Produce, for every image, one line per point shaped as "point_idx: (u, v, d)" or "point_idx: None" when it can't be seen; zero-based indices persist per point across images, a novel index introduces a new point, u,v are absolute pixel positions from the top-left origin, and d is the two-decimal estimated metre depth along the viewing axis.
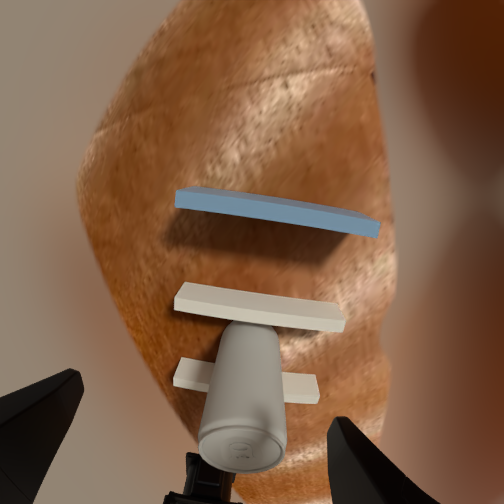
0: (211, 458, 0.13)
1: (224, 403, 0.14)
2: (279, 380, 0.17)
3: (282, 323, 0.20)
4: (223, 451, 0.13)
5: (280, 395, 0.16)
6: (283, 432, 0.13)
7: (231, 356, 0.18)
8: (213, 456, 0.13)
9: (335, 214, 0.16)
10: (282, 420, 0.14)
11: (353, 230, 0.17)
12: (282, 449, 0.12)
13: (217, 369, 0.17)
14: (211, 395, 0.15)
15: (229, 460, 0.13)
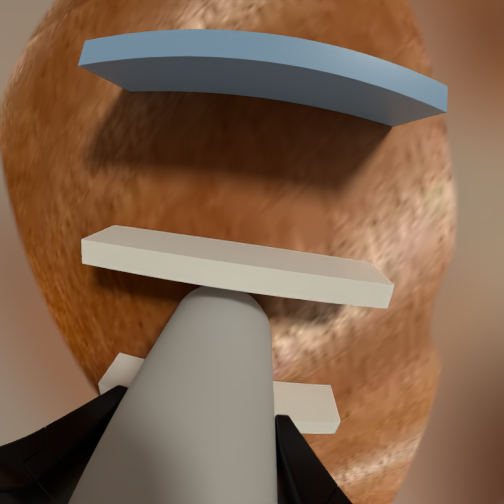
0: None
1: (109, 467, 0.04)
2: (266, 408, 0.07)
3: (275, 289, 0.10)
4: None
5: (266, 447, 0.06)
6: None
7: (164, 352, 0.08)
8: None
9: (368, 57, 0.07)
10: None
11: (405, 89, 0.07)
12: None
13: (134, 378, 0.08)
14: (103, 435, 0.05)
15: None
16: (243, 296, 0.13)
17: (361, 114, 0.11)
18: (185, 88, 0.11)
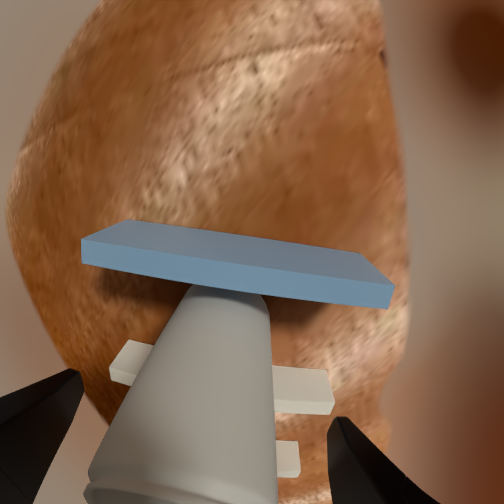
0: None
1: (132, 422, 0.05)
2: (266, 378, 0.09)
3: None
4: None
5: (266, 409, 0.07)
6: (268, 497, 0.05)
7: (176, 330, 0.10)
8: None
9: (322, 277, 0.10)
10: (267, 467, 0.05)
11: (351, 300, 0.10)
12: None
13: (149, 353, 0.09)
14: (123, 401, 0.07)
15: None
16: None
17: None
18: None
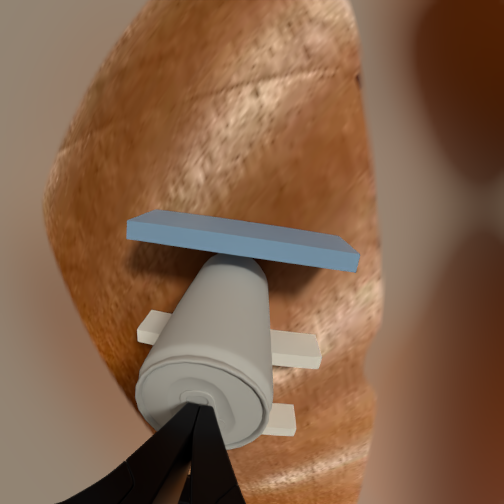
0: (158, 420, 0.09)
1: (177, 328, 0.10)
2: (264, 316, 0.13)
3: None
4: (173, 407, 0.09)
5: (264, 331, 0.12)
6: (266, 377, 0.09)
7: (200, 283, 0.14)
8: (160, 416, 0.09)
9: (305, 246, 0.15)
10: (265, 361, 0.10)
11: (327, 264, 0.15)
12: (264, 406, 0.08)
13: (180, 300, 0.13)
14: (165, 325, 0.11)
15: None
16: (248, 259, 0.18)
17: None
18: None
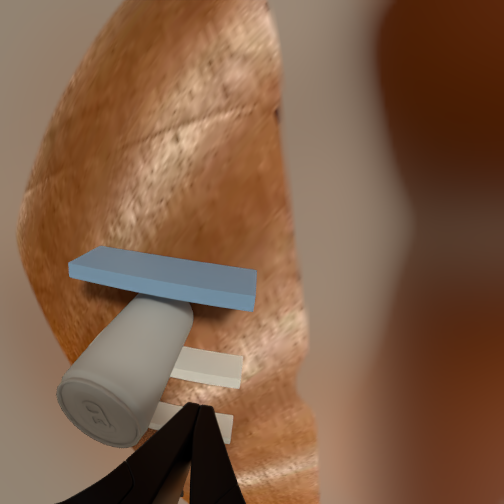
0: (76, 419, 0.11)
1: (83, 356, 0.12)
2: (163, 347, 0.15)
3: (179, 376, 0.20)
4: (80, 411, 0.10)
5: (155, 362, 0.14)
6: (136, 400, 0.11)
7: (118, 316, 0.16)
8: (76, 416, 0.11)
9: (203, 289, 0.16)
10: (142, 387, 0.12)
11: (224, 304, 0.17)
12: (133, 420, 0.10)
13: None
14: None
15: (92, 425, 0.11)
16: None
17: None
18: None
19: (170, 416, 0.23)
